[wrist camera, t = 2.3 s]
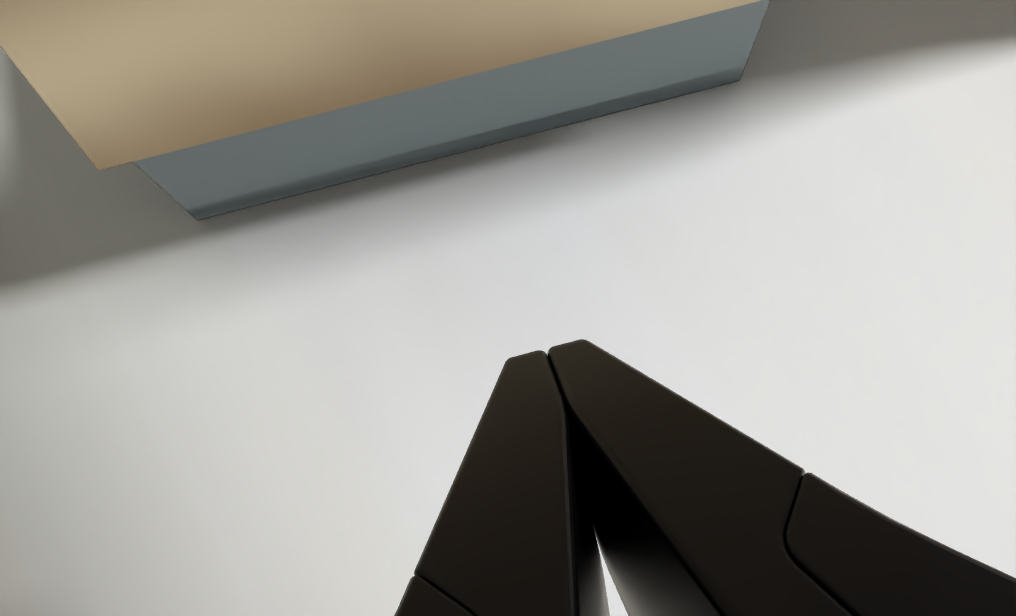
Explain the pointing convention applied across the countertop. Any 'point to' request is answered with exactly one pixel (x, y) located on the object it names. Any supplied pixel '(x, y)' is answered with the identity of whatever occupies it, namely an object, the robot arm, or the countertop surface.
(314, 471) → the countertop surface
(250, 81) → the birch lid
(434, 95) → the slate box
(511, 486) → the robot arm
